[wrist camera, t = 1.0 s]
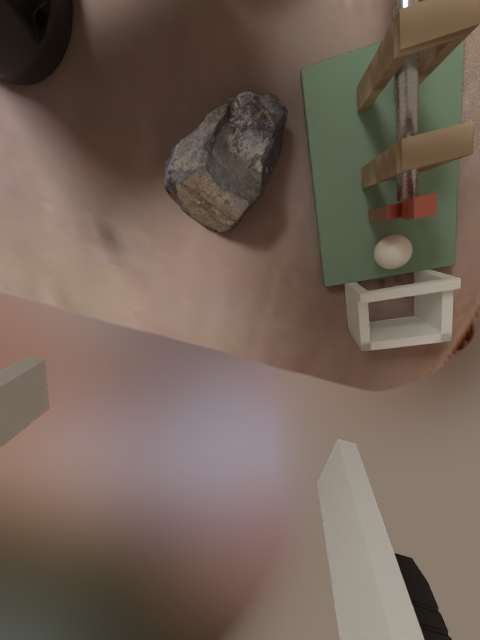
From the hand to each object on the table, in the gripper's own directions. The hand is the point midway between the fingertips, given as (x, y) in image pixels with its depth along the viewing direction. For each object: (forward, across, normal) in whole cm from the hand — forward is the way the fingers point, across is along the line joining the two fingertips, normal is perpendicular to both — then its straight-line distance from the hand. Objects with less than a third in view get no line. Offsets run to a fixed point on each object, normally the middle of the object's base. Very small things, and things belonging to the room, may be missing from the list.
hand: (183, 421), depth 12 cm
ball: (+22, +15, +8) cm, 28 cm away
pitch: (+26, +11, +16) cm, 32 cm away
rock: (+26, -6, +13) cm, 30 cm away
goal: (+25, +17, +2) cm, 31 cm away
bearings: (+24, +10, +19) cm, 32 cm away
